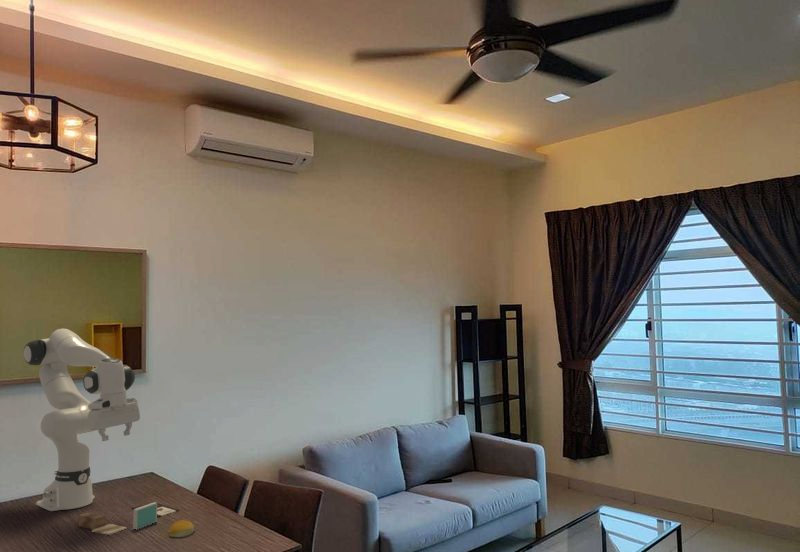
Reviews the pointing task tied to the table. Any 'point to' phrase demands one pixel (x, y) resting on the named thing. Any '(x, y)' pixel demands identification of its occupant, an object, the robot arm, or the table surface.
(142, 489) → the table surface
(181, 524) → the bread roll
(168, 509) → the chocolate bar
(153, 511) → the tile
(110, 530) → the brown flat knobbed piece
